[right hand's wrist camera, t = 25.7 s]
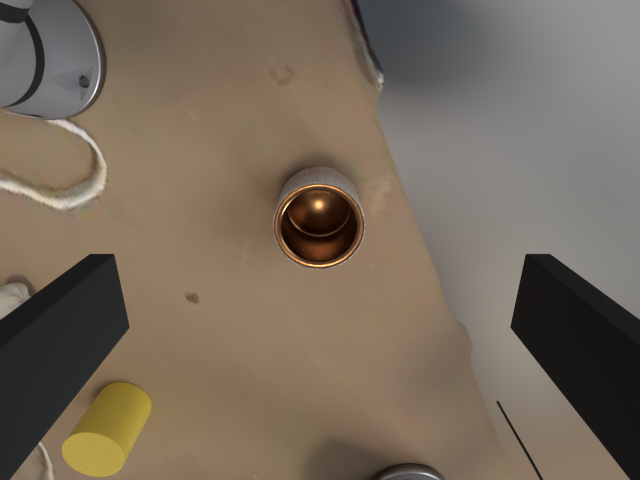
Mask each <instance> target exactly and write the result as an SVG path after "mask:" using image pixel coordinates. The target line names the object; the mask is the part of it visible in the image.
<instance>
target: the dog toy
mask: <svg viewBox="0 0 640 480" xmlns="http://www.w3.org/2000/svg"><path fill="white" fill-rule="evenodd" d="M29 298H31V296H30V295H29V293H28V288H27V286H26V285H24V284H22V283H8V284H5V285H2V286H0V320H1V319H2V318H3V317H5V316H6V315H8V314H9V313H10V312H12V311H13V310H14V309H16V308H17V307H18V306H20V305H21V304H23V303H24V302H25V301H27V300H28V299H29Z"/></svg>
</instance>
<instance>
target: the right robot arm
mask: <svg viewBox="0 0 640 480" xmlns="http://www.w3.org/2000/svg"><path fill="white" fill-rule="evenodd" d="M105 76H106V57H105V51H104V46H103V43H102V40H101V37H100V35H99V32H98V30H97V28H96V26H95V24H94V23H93V21H92V19H91V18H90V16H89V15H88V14H87V12H86V11H85V10H84V9H83V7H82V6H81V5H80V4H79V3H78V2H77V1H76V0H0V108H4V109H7V110H9V111H12V112H15V113H10V112H6V113H9V114H13V115H19V116H25V117H31V118H35V119H40V120H57V119H65V118H70V117H73V116H76V115H78V114H80V113H82V112H84V111H85V110H87V109H88V108H89V107H90V106H91V105H92V104H93V103H94V102H95V101H96V99H97V98H98V96H99V94H100V92H101V90H102V88H103V85H104V81H105ZM3 112H4V111H3ZM16 113H18V114H16ZM128 329H129V322H128V318H127V313H126V308H125V303H124V299H123V294H122V289H121V284H120V280H119V275H118V270H117V265H116V261H115V256H114V254H89V255H88V256H87V257H85V258H84V259H83V260H81V261H80V262H79V263H77V264H76V265H74V266H73V267H72V268H70V269H69V270H68V271H66V272H65V273H64V274H62V275H61V276H59V277H58V278H57V279H55V280H54V281H53V282H51V283H50V284H48V285H47V286H46V287H44V288H43V289H42V290H40V291H39V292H38V293H36V294H35V295H33V296H32V297H31V298H29V299H28V300H27V301H25V302H24V303H23V304H21V305H20V306H18V307H17V308H16V309H14V310H13V311H12V312H10V313H9V314H8V315H6V316H5V317H3V318H2V319H1V320H0V480H10V479H11V477H12V476H13V475H14V473H15V472H16V471H17V470H18V468H19V467H20V466H21V465H22V463H23V462H24V461H25V460H26V458H27V457H28V456H29V454H30V453H31V452H32V451H33V449H34V448H35V447H36V446H37V444H38V443H39V442H40V440H41V439H42V438H43V437H44V435H45V434H46V433H47V432H48V430H49V429H50V428H51V427H52V425H53V424H54V423H55V421H56V420H57V419H58V418H59V416H60V415H61V414H62V413H63V411H64V410H65V409H66V407H67V406H68V405H69V404H70V402H71V401H72V400H73V399H74V397H75V396H76V395H77V394H78V392H79V391H80V390H81V388H82V387H83V386H84V385H85V383H86V382H87V381H88V380H89V378H90V377H91V376H92V374H93V373H94V372H95V371H96V369H97V368H98V367H99V366H100V364H101V363H102V362H103V360H104V359H105V358H106V357H107V355H108V354H109V353H110V352H111V350H112V349H113V348H114V347H115V345H116V344H117V343H118V341H119V340H120V339H121V338H122V336H123V335H124V334H125V333H126V331H127V330H128ZM511 329H512V330H513V331H514V333H515V334H516V335H517V336H518V338H519V339H520V340H521V341H522V343H523V344H524V345H525V347H526V348H527V349H528V350H529V352H530V353H531V354H532V355H533V357H534V358H535V359H536V360H537V362H538V363H539V364H540V366H541V367H542V368H543V369H544V371H545V372H546V373H547V374H548V376H549V377H550V378H551V379H552V381H553V382H554V383H555V385H556V386H557V387H558V388H559V390H560V391H561V392H562V394H563V395H564V396H565V397H566V399H567V400H568V401H569V402H570V404H571V405H572V406H573V407H574V409H575V410H576V411H577V413H578V414H579V415H580V416H581V418H582V419H583V420H584V421H585V423H586V424H587V425H588V427H589V428H590V429H591V430H592V432H593V433H594V434H595V435H596V437H597V438H598V439H599V440H600V442H601V443H602V444H603V446H604V447H605V448H606V449H607V451H608V452H609V453H610V454H611V456H612V457H613V458H614V460H615V461H616V462H617V463H618V465H619V466H620V467H621V468H622V470H623V471H624V472H625V473H626V475H627V476H628V477H629V479H630V480H640V320H639V319H638V318H637V317H635V316H634V315H632V314H631V313H630V312H628V311H627V310H626V309H624V308H623V307H622V306H620V305H619V304H617V303H616V302H615V301H613V300H612V299H611V298H609V297H608V296H606V295H605V294H604V293H602V292H601V291H600V290H598V289H597V288H596V287H594V286H593V285H591V284H590V283H589V282H587V281H586V280H585V279H583V278H582V277H581V276H579V275H578V274H576V273H575V272H574V271H572V270H571V269H570V268H568V267H567V266H566V265H564V264H563V263H561V262H560V261H559V260H557V259H556V258H555V257H553V256H552V255H550V254H526V256H525V261H524V265H523V270H522V275H521V280H520V284H519V289H518V294H517V299H516V303H515V308H514V313H513V318H512V322H511Z"/></svg>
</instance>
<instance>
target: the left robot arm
mask: <svg viewBox="0 0 640 480" xmlns="http://www.w3.org/2000/svg"><path fill="white" fill-rule="evenodd" d="M496 402H497V404H498V406H499V408H500V410H501V412H502V413H503V415H504V417H505V419H506V421H507V422H508V424H509V426H510V428H511V429H512V431H513V433H514V435H515V436H516V438H517V440H518V442H519V443H520V445H521V447H522V448H523V450H524V452H525V454H526V455H527V457H528V459H529V461H530V463H531V464H532V466H533V468H534V470H535V472H536V474H537V475H538V477H539V479H540V480H543V478H542V476H541V474H540V473H539V471H538V469H537V467H536V465H535V464H534V462H533V460H532V458H531V457H530V455H529V453H528V452H527V450H526V448H525V446H524V445H523V443H522V441H521V439H520V438H519V436H518V434H517V433H516V431H515V429H514V428H513V426H512V424H511V422H510V420H509V419H508V417H507V415H506V413H505V412H504V410H503V408H502V406H501V405H500V403H499V401H496ZM373 480H445V479H444V478H443V477H442V475H441V474H440V473H438V472H437V471H435V470H434V469H432V468H429V467H426V466H423V465H417V464H405V465H398V466H394V467H391V468H389V469H387V470H385V471H383V472H381V473H380V474H378V475H377V476H376V477H375V478H374V479H373Z"/></svg>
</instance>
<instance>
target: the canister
mask: <svg viewBox="0 0 640 480" xmlns="http://www.w3.org/2000/svg"><path fill="white" fill-rule="evenodd" d="M151 409H152V404H151V400H150V398H149V396H148V395H147V393H146V392H145V391H144V390H142V389H141V388H139V387H138V386H136V385H133V384H130V383H125V382H116V383H111V384H109V385H107V386H105V387H104V388H103V389H102V390H101V391H100V393H99V394H98V396H97V397H96V398H95V400H94V401H93V403H92V404H91V405H90V407H89V408H88V410H87V411H86V412H85V414H84V415H83V417H82V418H81V419H80V421H79V422H78V424H77V425H76V426H75V428H74V429H73V430H72V432H71V433H70V435H69V436H68V437H67V439H66V440H65V442H64V443H63V446H62V454H63V457H64V459H65V461H66V462H67V463H68V464H69V465H70V466H71V467H72V468H73V469H75V470H76V471H78V472H80V473H83V474H85V475H89V476H95V477H104V476H109V475H112V474H114V473H116V472H118V471H119V470H120V469H121V468H122V466H123V464H124V462H125V460H126V458H127V457H128V455H129V453H130V451H131V449H132V447H133V445H134V443H135V441H136V439H137V437H138V435H139V433H140V431H141V430H142V428H143V426H144V424H145V422H146V420H147V418H148V416H149V414H150V412H151Z"/></svg>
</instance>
